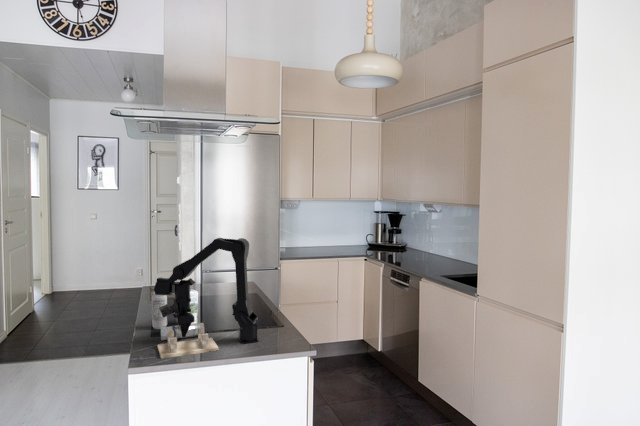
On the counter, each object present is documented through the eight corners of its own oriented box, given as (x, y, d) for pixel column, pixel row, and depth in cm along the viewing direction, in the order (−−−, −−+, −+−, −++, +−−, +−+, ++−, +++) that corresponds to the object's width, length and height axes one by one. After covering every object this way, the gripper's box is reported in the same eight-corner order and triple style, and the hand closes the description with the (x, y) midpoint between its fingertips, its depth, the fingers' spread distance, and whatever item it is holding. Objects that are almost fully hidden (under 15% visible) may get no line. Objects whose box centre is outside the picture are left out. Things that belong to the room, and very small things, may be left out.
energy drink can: (169, 325, 194) (169, 290, 193) (163, 329, 188) (163, 294, 187) (155, 324, 194) (155, 290, 193) (149, 329, 188) (149, 293, 187)
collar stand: (211, 339, 176) (211, 324, 176) (218, 350, 166) (218, 334, 165) (157, 347, 168) (157, 331, 168) (160, 358, 157) (160, 341, 157)
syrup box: (190, 321, 200) (190, 288, 199) (198, 323, 196) (198, 290, 195) (179, 324, 196) (179, 291, 195) (187, 327, 192) (187, 293, 191)
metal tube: (202, 333, 184) (202, 321, 184) (204, 337, 180) (204, 324, 179) (160, 338, 177) (160, 325, 177) (162, 342, 173) (162, 329, 173)
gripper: (158, 292, 183) (158, 330, 184) (163, 303, 166) (163, 345, 167) (186, 289, 187) (187, 326, 188) (194, 300, 170) (194, 341, 171)
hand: (182, 334), depth 178 cm, fingers closed on metal tube, 5 cm apart
